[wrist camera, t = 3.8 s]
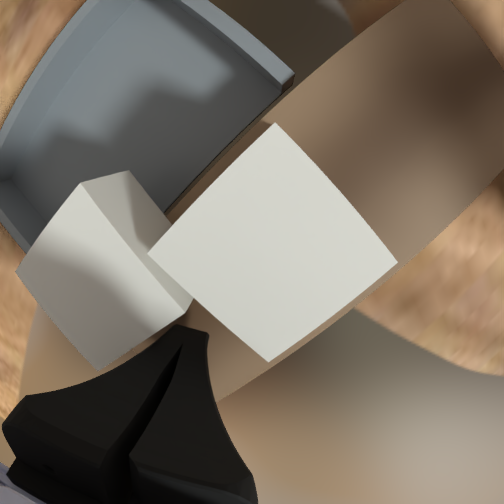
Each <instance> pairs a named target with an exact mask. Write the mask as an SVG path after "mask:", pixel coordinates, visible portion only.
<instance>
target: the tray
mask: <svg viewBox="0 0 504 504" xmlns="http://www.w3.org/2000/svg"><path fill="white" fill-rule="evenodd" d="M294 76H295V73H294V72H293V71H292V70H291V69H290V68H289V67H288V66H287V65H286V64H285V63H284V62H283V61H281V60H280V59H279V58H278V57H277V56H276V55H275V54H274V53H273V52H272V51H270V50H269V49H268V48H267V47H266V46H265V45H263V44H262V43H261V42H260V41H259V40H258V39H257V38H255V37H254V36H253V35H252V34H251V33H249V32H248V31H247V30H246V29H244V28H243V27H242V26H241V25H240V24H238V23H237V22H236V21H234V20H233V19H232V18H231V17H229V16H228V15H227V14H226V13H224V12H223V11H222V10H220V9H219V8H217V7H216V6H215V5H213V4H212V3H211V2H209V1H208V0H87V1H86V2H85V3H84V4H83V5H82V7H81V8H80V9H79V10H78V11H77V12H76V14H75V15H74V16H73V17H72V18H71V20H70V21H69V22H68V23H67V25H66V26H65V27H64V29H63V30H62V31H61V33H60V34H59V35H58V36H57V38H56V39H55V41H54V42H53V43H52V45H51V46H50V47H49V49H48V50H47V52H46V53H45V55H44V56H43V58H42V59H41V61H40V62H39V64H38V65H37V67H36V68H35V70H34V71H33V73H32V74H31V76H30V78H29V79H28V81H27V83H26V84H25V86H24V88H23V89H22V91H21V93H20V94H19V96H18V98H17V100H16V101H15V103H14V105H13V107H12V109H11V111H10V113H9V114H8V116H7V118H6V120H5V122H4V124H3V126H2V128H1V130H0V222H1V223H2V225H3V226H4V227H5V228H6V230H7V231H8V232H9V234H10V235H11V236H12V237H13V239H14V240H15V241H16V242H17V243H18V245H19V246H20V247H21V248H22V250H23V251H24V252H25V253H26V254H27V253H28V251H29V250H30V248H31V247H32V245H33V244H34V242H35V241H36V240H37V238H38V237H39V235H40V234H41V233H42V231H43V230H44V228H45V227H46V226H47V224H48V223H49V222H50V220H51V219H52V218H53V216H54V215H55V214H56V212H57V211H58V210H59V208H60V207H61V206H62V205H63V203H64V202H65V201H66V200H67V198H68V197H69V196H70V195H71V193H72V192H73V191H74V190H75V188H76V187H77V186H78V185H79V184H80V183H81V182H85V181H89V180H92V179H96V178H100V177H103V176H107V175H111V174H115V173H119V172H123V171H127V170H129V171H130V172H131V173H132V175H133V176H134V177H135V178H136V180H137V181H138V182H139V184H140V185H141V186H142V187H143V189H144V190H145V191H146V193H147V194H148V195H149V196H150V198H151V199H152V200H153V201H154V203H155V204H156V205H157V206H158V208H159V209H160V210H161V211H162V213H163V214H164V213H165V212H166V210H167V209H168V208H169V207H170V206H171V205H172V204H173V203H174V202H175V201H176V199H177V198H178V197H179V196H180V195H181V194H182V193H183V192H184V191H185V190H186V189H187V187H188V186H189V185H190V184H191V183H192V182H193V181H194V180H195V179H196V178H197V177H198V176H199V175H200V174H201V173H202V172H203V170H204V169H205V168H206V167H207V166H208V165H209V164H210V163H211V162H212V161H213V160H214V159H215V158H216V157H217V156H218V155H219V154H220V153H221V152H222V151H223V150H224V149H225V148H226V147H227V146H228V145H229V144H230V143H231V142H232V141H233V140H234V139H235V138H236V137H237V136H238V135H239V134H240V133H241V132H242V131H243V130H244V129H245V128H246V127H247V126H248V125H250V123H252V122H253V121H254V120H255V119H256V118H257V117H258V116H259V115H260V114H261V113H262V112H263V111H264V110H265V109H266V108H267V107H268V106H270V105H271V104H272V103H273V102H274V101H275V100H276V99H277V98H278V97H279V96H281V95H282V94H283V93H284V92H285V91H286V90H287V89H288V88H290V87H291V86H292V84H293V80H294Z"/></svg>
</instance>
